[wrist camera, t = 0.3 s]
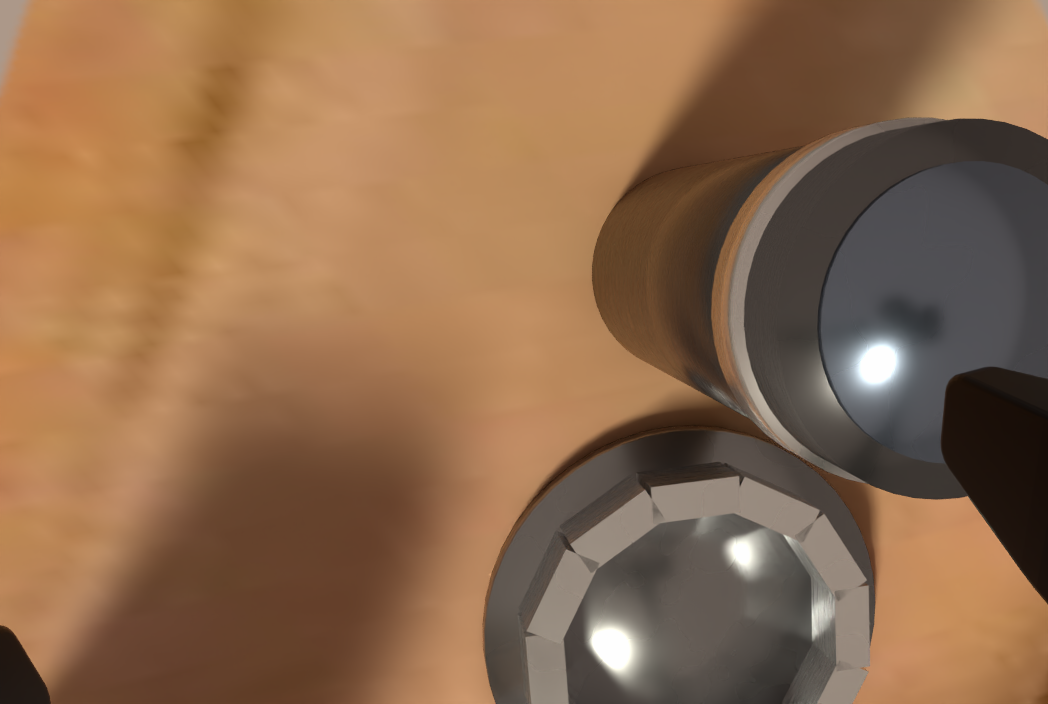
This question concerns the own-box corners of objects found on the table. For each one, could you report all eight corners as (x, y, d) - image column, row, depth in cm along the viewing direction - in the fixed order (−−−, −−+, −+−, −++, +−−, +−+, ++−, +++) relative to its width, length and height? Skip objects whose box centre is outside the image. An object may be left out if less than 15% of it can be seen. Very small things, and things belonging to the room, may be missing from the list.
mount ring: (758, 847, 27) (787, 896, 25) (415, 729, 25) (418, 773, 23) (928, 515, 26) (971, 538, 24) (590, 360, 24) (608, 373, 22)
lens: (734, 408, 25) (1028, 568, 13) (550, 323, 24) (702, 420, 12) (826, 219, 24) (1212, 217, 13) (644, 123, 23) (892, 29, 12)
